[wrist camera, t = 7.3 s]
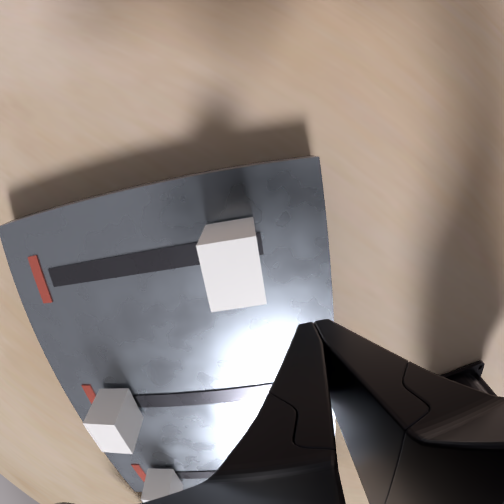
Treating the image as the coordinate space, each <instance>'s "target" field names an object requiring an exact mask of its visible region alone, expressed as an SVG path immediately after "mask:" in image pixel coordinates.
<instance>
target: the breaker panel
mask: <svg viewBox="0 0 504 504" xmlns="http://www.w3.org/2000/svg"><path fill="white" fill-rule="evenodd" d="M249 217H253V220H254V226H255V232H256V238H257V244H258V251H259V257H260V263H261V269H262V276H263V282H264V289H265V295H266V301H267V304H264V305H257V306H251V307H244V308H237V309H231V310H224V311H216V312H211V309H210V305H209V301H208V297H207V292H206V288H205V284H204V279H203V275H202V271H201V266H200V262H199V257H198V252H197V248H196V245H197V243H198V240H199V238H200V236H201V234H202V232H203V229H204V227H205V225H207V224H213V223H219V222H225V221H231V220H237V219H243V218H249ZM0 237H1V241H2V245H3V248H4V251H5V255H6V258H7V261H8V264H9V267H10V270H11V273H12V276H13V279H14V282H15V285H16V288H17V290H18V293H19V296H20V298H21V301H22V303H23V306H24V308H25V311H26V313H27V316H28V318H29V321H30V323H31V325H32V327H33V330H34V332H35V334H36V336H37V339H38V341H39V343H40V345H41V347H42V349H43V351H44V353H45V355H46V357H47V359H48V361H49V363H50V365H51V367H52V369H53V371H54V373H55V375H56V377H57V379H58V380H59V382H60V384H61V386H62V388H63V389H64V391H65V393H66V395H67V396H68V398H69V400H70V401H71V403H72V405H73V406H74V408H75V410H76V411H77V413H78V415H79V416H80V418H81V419H82V421H83V422H84V420H85V417H86V415H87V413H88V411H89V409H90V407H91V405H92V403H93V401H94V399H95V397H96V395H97V393H98V391H99V389H115V388H129V390H130V392H131V394H132V396H133V398H134V400H135V402H136V404H137V406H138V408H139V410H140V412H141V414H142V416H143V417H144V418H143V422H142V425H141V428H140V431H139V435H138V438H137V442H136V445H135V448H134V452H133V454H122V453H109V452H104V453H105V454H106V456H107V457H108V458H109V460H110V461H111V462H112V464H113V465H114V466H115V468H116V469H117V470H118V472H119V473H120V474H121V475H122V477H123V478H124V479H125V480H126V482H127V483H128V484H129V485H130V486H131V488H132V489H133V490H134V491H135V492H142V491H143V487H144V482H145V478H146V474H147V469H148V468H156V469H173V470H174V471H175V473H176V474H177V476H178V478H179V479H180V481H181V482H182V484H183V490H185V489H187V488H190V487H193V486H196V485H198V484H200V483H202V482H204V481H205V480H207V479H208V478H209V477H211V476H212V475H213V474H214V473H215V472H216V471H217V470H218V468H219V467H220V466H221V465H222V463H223V462H224V461H225V459H226V458H227V457H228V455H229V454H230V453H231V451H232V450H233V449H234V447H235V446H236V445H237V443H238V442H239V441H240V439H241V438H242V437H243V435H244V434H245V432H246V431H247V430H248V428H249V427H250V425H251V424H252V422H253V421H254V419H255V418H256V416H257V414H258V412H259V410H260V408H261V406H262V405H263V403H264V400H265V398H266V396H267V394H268V392H269V390H270V388H271V386H272V384H273V381H274V379H275V377H276V375H277V373H278V370H279V368H280V366H281V364H282V361H283V359H284V357H285V355H286V352H287V350H288V348H289V345H290V343H291V341H292V338H293V336H294V334H295V331H296V329H297V327H298V325H299V324H302V323H307V322H313V323H314V322H315V321H318V320H323V319H330V320H332V321H333V322H334V316H333V297H332V281H331V266H330V254H329V242H328V231H327V220H326V210H325V201H324V192H323V183H322V175H321V167H320V160H319V157H318V156H304V157H296V158H288V159H281V160H273V161H267V162H260V163H253V164H247V165H241V166H235V167H229V168H223V169H217V170H212V171H206V172H201V173H195V174H190V175H185V176H180V177H175V178H170V179H166V180H161V181H156V182H152V183H147V184H143V185H138V186H134V187H130V188H125V189H121V190H117V191H113V192H109V193H105V194H101V195H97V196H93V197H89V198H86V199H82V200H78V201H75V202H71V203H67V204H64V205H60V206H57V207H53V208H50V209H47V210H43V211H40V212H37V213H34V214H30V215H27V216H24V217H21V218H18V219H15V220H12V221H10V222H8V223H5V224H3V225H1V226H0ZM332 415H333V424H334V433H335V414H334V411H333V409H332Z"/></svg>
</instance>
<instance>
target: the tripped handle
mask: <svg viewBox="0 0 504 504" xmlns="http://www.w3.org/2000/svg"><path fill="white" fill-rule="evenodd" d="M196 248H197V252H198V257H199V262H200V266H201V271H202V275H203V279H204V284H205V288H206V292H207V297H208V301H209V305H210V309H211V312H216V311H224V310H231V309H237V308H244V307H251V306H257V305H264V304H267V301H266V295H265V289H264V282H263V276H262V269H261V263H260V257H259V251H258V244H257V238H256V232H255V226H254V220H253V217H249V218H243V219H237V220H231V221H225V222H219V223H213V224H207V225H205V227H204V229H203V232H202V234H201V236H200V238H199V240H198V243H197V245H196Z"/></svg>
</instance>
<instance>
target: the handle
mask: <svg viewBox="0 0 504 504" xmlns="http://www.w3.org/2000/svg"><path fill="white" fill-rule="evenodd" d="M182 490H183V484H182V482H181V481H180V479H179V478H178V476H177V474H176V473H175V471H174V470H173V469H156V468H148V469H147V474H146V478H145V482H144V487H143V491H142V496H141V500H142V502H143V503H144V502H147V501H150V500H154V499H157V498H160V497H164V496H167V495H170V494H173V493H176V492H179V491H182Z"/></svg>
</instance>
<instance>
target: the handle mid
mask: <svg viewBox="0 0 504 504" xmlns="http://www.w3.org/2000/svg"><path fill="white" fill-rule="evenodd" d="M143 418H144V417H143V416H142V414H141V412H140V410H139V408H138V406H137V404H136V402H135V400H134V398H133V396H132V394H131V392H130V390H129V388H115V389H99V391H98V393H97V395H96V397H95V399H94V401H93V403H92V405H91V407H90V409H89V411H88V413H87V415H86V417H85V420H84V422H83V424H84V426H85V428H86V429H87V431H88V432H89V433H90V435H91V436H92V438H93V439H94V441H95V442H96V444H97V445H98V446H99V448H100V449H101V451H102V452H109V453H122V454H133V452H134V448H135V445H136V442H137V438H138V435H139V431H140V428H141V425H142V422H143Z"/></svg>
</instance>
